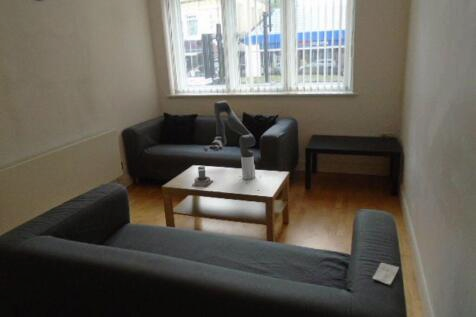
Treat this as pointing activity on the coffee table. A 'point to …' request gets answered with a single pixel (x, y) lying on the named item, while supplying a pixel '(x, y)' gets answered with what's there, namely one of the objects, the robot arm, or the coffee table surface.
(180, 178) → the coffee table surface
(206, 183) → the mount
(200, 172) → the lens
